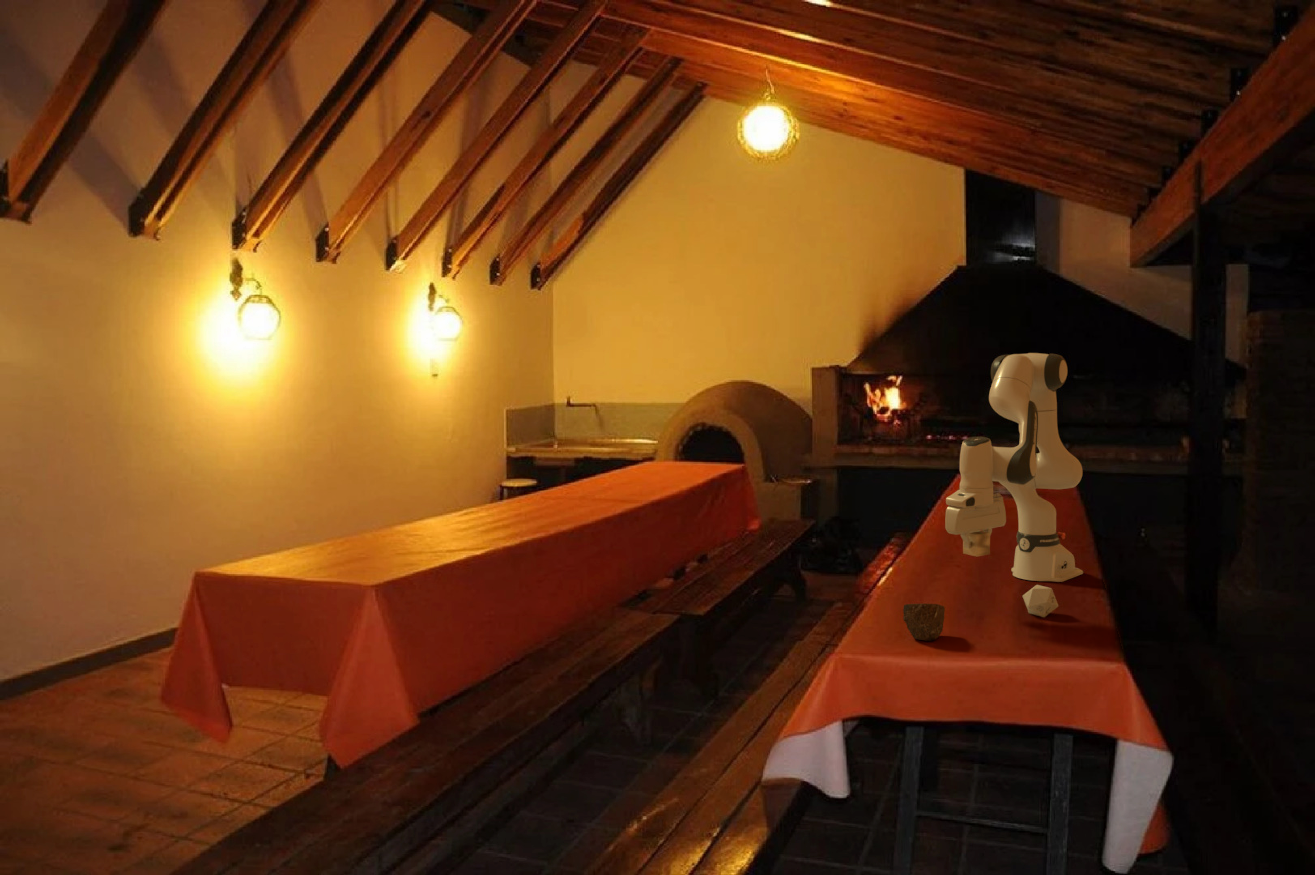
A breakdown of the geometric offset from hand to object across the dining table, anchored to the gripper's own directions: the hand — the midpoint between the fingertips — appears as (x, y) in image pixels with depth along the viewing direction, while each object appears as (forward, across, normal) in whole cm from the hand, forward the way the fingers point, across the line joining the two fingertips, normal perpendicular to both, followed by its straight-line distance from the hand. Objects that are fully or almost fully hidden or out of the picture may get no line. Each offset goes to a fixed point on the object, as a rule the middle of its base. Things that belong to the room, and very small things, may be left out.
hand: (976, 546), depth 276 cm
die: (+19, -12, +12) cm, 25 cm away
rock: (+19, +28, +9) cm, 35 cm away
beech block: (+2, 0, 0) cm, 2 cm away
